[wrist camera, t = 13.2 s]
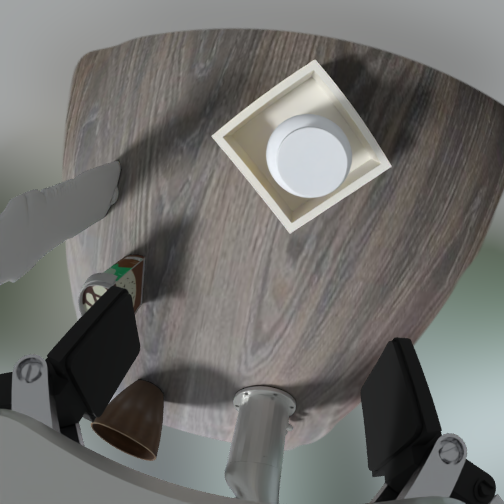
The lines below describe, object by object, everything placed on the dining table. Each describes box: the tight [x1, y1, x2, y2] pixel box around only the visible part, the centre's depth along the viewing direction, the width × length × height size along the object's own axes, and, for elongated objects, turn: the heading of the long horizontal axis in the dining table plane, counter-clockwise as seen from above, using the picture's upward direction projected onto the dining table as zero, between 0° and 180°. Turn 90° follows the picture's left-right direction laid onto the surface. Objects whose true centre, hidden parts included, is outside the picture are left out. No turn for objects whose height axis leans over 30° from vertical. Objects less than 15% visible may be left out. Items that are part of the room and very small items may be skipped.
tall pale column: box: [0, 161, 121, 285], centre depth 25 cm, size 11×4×22 cm, turn 148°
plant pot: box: [91, 380, 164, 461], centre depth 48 cm, size 15×15×16 cm
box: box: [212, 60, 392, 233], centre depth 27 cm, size 13×13×5 cm
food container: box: [78, 255, 145, 316], centre depth 36 cm, size 12×6×10 cm, turn 164°
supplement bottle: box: [266, 114, 352, 198], centre depth 22 cm, size 7×7×13 cm
